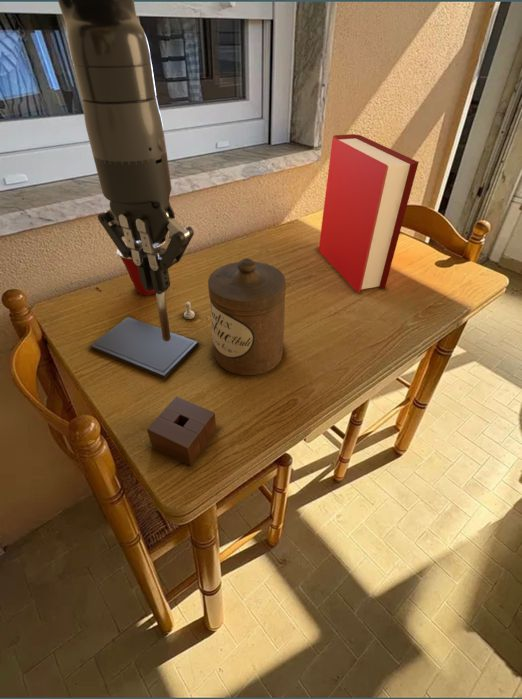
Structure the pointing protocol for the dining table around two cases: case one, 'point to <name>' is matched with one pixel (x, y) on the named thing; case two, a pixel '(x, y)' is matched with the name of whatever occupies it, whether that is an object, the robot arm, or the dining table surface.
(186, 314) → the pawn
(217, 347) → the wooden container
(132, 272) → the plastic cup
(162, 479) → the dining table surface
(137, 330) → the plate
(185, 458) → the stylus stand
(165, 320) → the stylus
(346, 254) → the book
